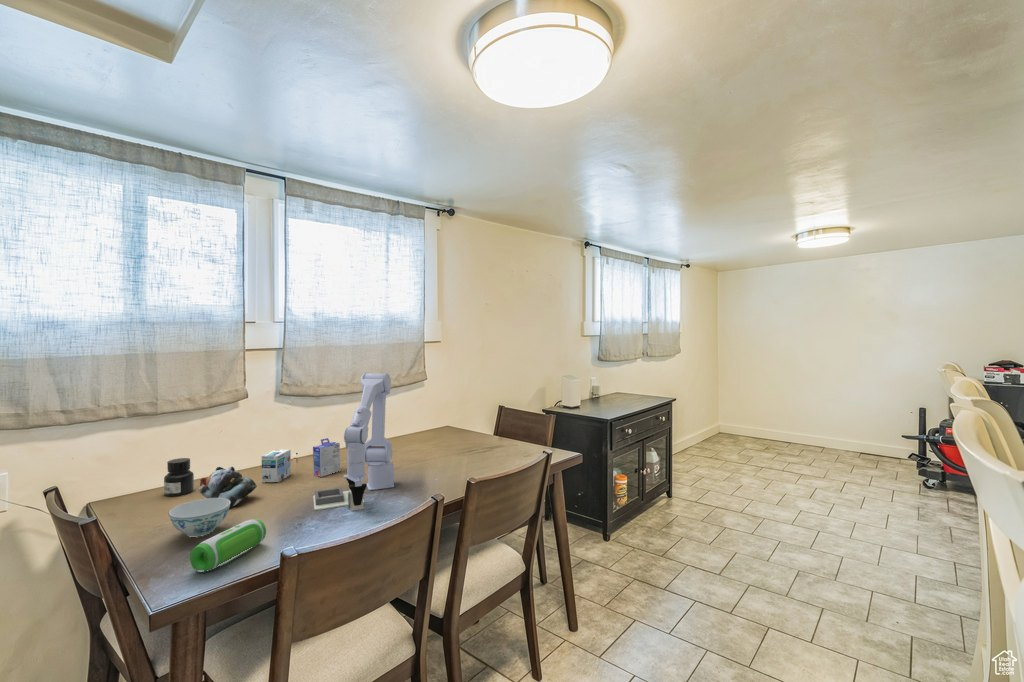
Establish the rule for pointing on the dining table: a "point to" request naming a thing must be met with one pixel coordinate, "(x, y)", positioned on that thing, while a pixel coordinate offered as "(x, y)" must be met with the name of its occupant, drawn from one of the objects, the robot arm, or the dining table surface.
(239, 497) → the grey animal figurine
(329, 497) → the socket board
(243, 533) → the speaker
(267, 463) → the light bulb box
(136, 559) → the dining table surface
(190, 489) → the ink bottle
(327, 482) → the dining table surface
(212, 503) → the chinaware
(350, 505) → the plug
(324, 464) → the ink cartridge box
